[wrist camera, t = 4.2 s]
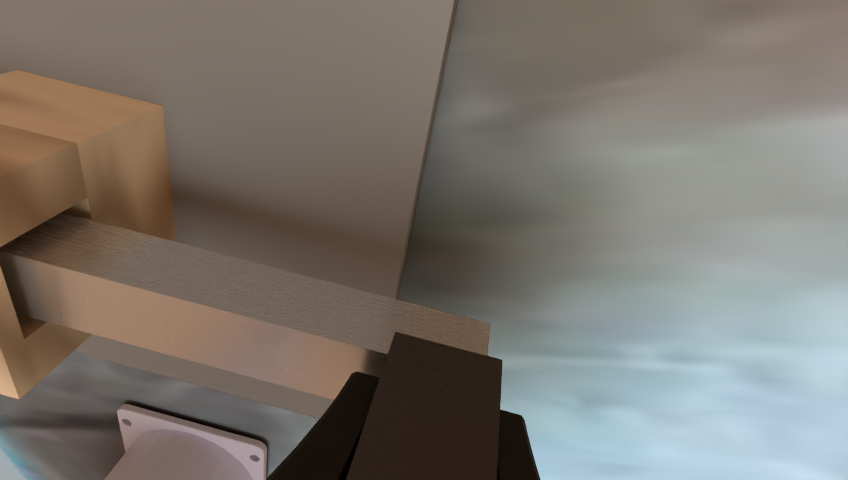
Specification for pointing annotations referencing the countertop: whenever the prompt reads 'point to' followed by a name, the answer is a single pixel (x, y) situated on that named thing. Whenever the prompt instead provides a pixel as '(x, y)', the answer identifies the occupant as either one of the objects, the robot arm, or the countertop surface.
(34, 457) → the countertop surface
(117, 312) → the shaft
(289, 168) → the mounting plate
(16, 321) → the bearing block
